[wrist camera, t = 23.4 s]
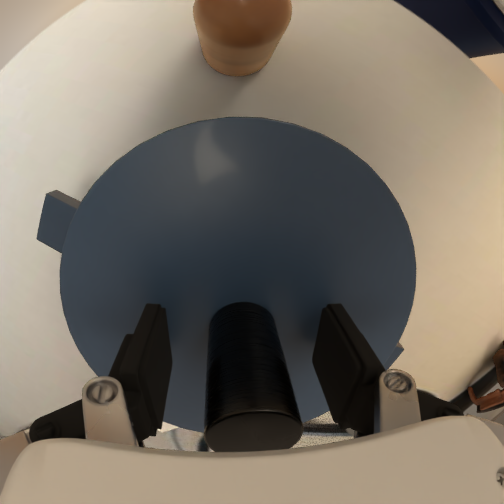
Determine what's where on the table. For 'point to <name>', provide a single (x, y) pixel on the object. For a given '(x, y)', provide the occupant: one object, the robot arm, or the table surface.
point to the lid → (238, 269)
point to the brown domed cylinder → (240, 32)
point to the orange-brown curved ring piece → (498, 397)
